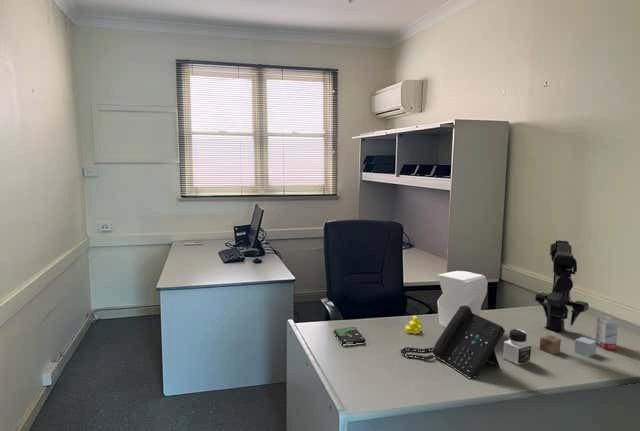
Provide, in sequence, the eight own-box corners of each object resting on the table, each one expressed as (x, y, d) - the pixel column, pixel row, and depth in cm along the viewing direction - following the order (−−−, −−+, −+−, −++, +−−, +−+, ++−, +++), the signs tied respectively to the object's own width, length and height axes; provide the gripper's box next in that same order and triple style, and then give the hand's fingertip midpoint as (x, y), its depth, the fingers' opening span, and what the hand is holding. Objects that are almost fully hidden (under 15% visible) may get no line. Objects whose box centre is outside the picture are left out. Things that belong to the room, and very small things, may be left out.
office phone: (397, 352, 178) (398, 305, 175) (451, 341, 189) (453, 296, 187) (443, 386, 151) (446, 330, 149) (504, 370, 162) (507, 319, 160)
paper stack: (427, 324, 208) (429, 272, 205) (468, 315, 221) (470, 266, 218) (461, 340, 190) (463, 283, 187) (502, 329, 202) (505, 276, 199)
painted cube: (574, 352, 178) (575, 339, 178) (581, 349, 181) (582, 336, 181) (588, 357, 174) (589, 344, 173) (595, 354, 177) (596, 341, 176)
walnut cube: (539, 349, 181) (540, 337, 180) (547, 346, 184) (547, 334, 183) (552, 354, 176) (553, 341, 175) (559, 351, 179) (560, 338, 178)
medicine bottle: (518, 365, 166) (520, 335, 165) (502, 358, 172) (504, 329, 171) (530, 361, 169) (532, 332, 168) (514, 354, 176) (516, 326, 174)
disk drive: (366, 345, 185) (354, 332, 199) (366, 339, 185) (354, 326, 199) (343, 348, 183) (332, 334, 197) (343, 341, 182) (332, 328, 196)
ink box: (616, 350, 180) (618, 323, 179) (603, 349, 181) (605, 322, 180) (607, 342, 188) (609, 316, 187) (594, 341, 189) (597, 315, 188)
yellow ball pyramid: (401, 330, 200) (402, 314, 199) (415, 328, 204) (416, 312, 203) (409, 335, 195) (410, 318, 194) (423, 332, 198) (424, 316, 198)
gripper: (530, 283, 178) (527, 319, 180) (579, 293, 164) (576, 333, 166) (542, 279, 185) (539, 314, 187) (590, 288, 171) (587, 326, 173)
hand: (559, 322), depth 178 cm, fingers open, 9 cm apart
